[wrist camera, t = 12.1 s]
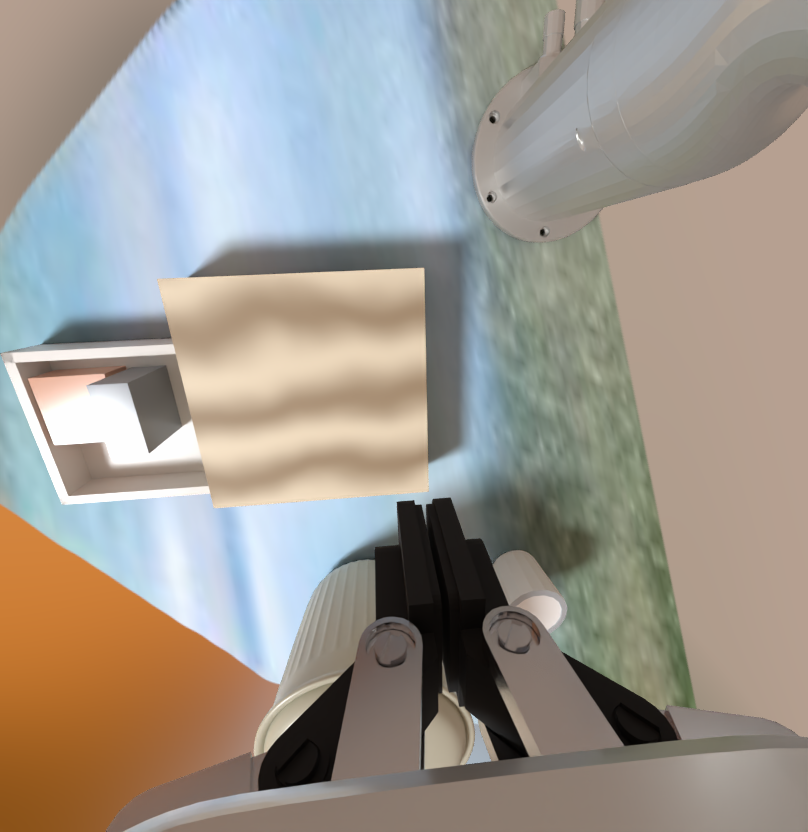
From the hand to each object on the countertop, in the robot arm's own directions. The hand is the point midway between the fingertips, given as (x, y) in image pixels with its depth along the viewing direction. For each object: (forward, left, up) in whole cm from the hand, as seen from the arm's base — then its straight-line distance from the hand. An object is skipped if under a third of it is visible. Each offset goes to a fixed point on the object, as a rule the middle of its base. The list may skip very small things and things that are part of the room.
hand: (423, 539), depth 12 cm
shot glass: (+27, +14, -27) cm, 41 cm away
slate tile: (+2, -20, -23) cm, 31 cm away
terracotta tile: (+2, -27, -23) cm, 35 cm away
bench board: (+2, -7, -27) cm, 28 cm away
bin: (+4, -24, -27) cm, 36 cm away
